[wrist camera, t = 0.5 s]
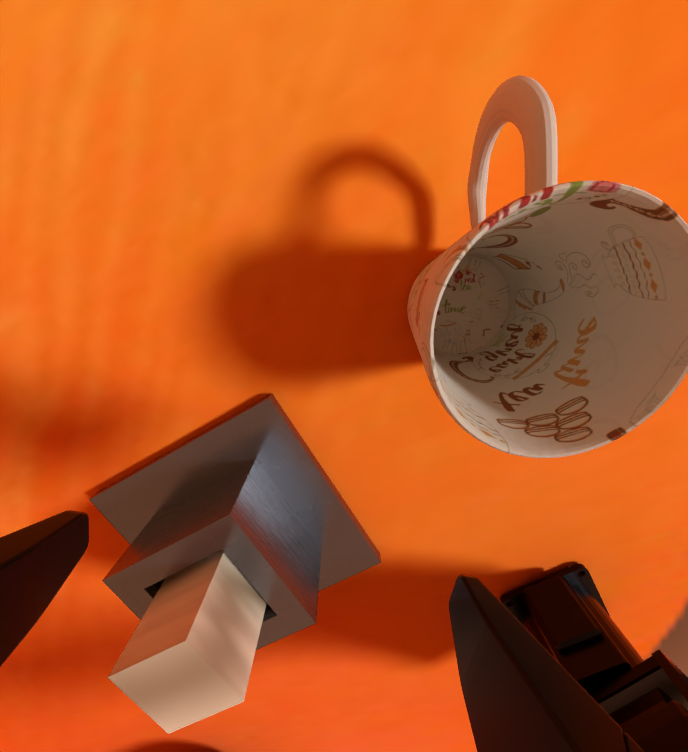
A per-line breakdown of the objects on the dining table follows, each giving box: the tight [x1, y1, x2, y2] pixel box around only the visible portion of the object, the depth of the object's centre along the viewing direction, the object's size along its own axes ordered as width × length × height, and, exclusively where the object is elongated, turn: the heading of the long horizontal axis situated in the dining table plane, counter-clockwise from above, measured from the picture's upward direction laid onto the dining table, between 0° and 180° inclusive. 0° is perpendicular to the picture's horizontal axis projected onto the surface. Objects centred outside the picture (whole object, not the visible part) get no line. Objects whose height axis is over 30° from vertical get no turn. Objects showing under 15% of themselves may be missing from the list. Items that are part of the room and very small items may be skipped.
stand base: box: [89, 394, 381, 650], centre depth 21 cm, size 14×14×7 cm
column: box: [108, 549, 267, 734], centre depth 19 cm, size 4×4×9 cm
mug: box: [407, 76, 688, 458], centre depth 15 cm, size 8×13×10 cm, turn 9°
